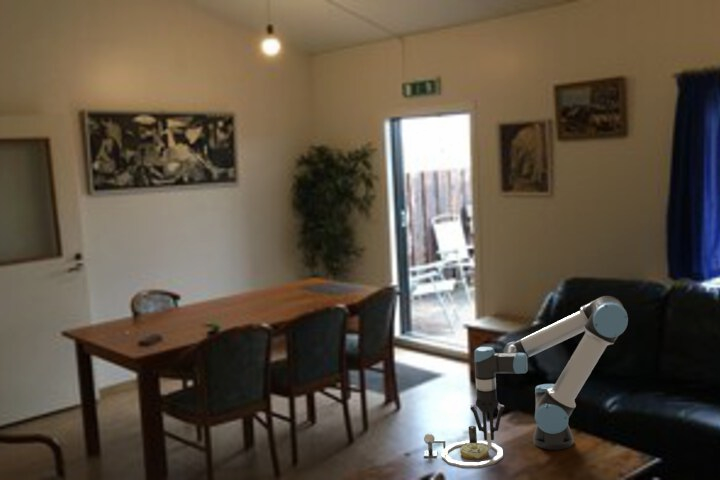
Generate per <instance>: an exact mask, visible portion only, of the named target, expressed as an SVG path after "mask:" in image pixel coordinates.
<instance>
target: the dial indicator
mask: <svg viewBox="0 0 720 480" xmlns="http://www.w3.org/2000/svg"><path fill="white" fill-rule="evenodd" d="M423 441H424V443H425V444H427V446H428V447H427V450H424V453H423V458H424V459H425V458H426V459H428V458H431V459H432V458H435V459H436V458H438V453H439V451H438V450H437V449H436V450H435V449H433V444H442V446H443V449H446V447H447V446H446V439H435V436H434V435H433V434H432V433H427V434H425V435H424V437H423Z"/></svg>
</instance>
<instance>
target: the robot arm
mask: <svg viewBox="0 0 720 480" xmlns="http://www.w3.org/2000/svg"><path fill="white" fill-rule="evenodd" d="M628 322H629V317H628V313H627V310H626V309H625V308H624V305H623V303H622V302H621V301H620V300H619V298H616V297H614V296H611V295H603V296H599V297H598V298H596V299H595V300H591V301H590V302H588V303H586V304H584V305H582V306H581V307H580V309H579V310H578V311H576V312H575V313H574V312H573V313H572V314H571V315H568V316H566V317H564V318H562V319H560V320H557V321H556V322H554V323H552V324H549V325H547V326H545V327H543V328H541V329H539V330H537V331H535V332H533V333H531V334H529V335H527V336H525V337H523V338H521V339H519V340H516V341H510V342H508V343H507V344H506V345H505V346H504V348H503V350H502V351H503V352H496V351H495V349H494V348H493V347H491V346H480V347H476V348H475V350H474V357H473V358H474V360H473V361H474V362H473V363H474V372H475V373H474V374H475V377H474V378H475V388H476V391H475V392H476V401H475V403H474V404H471V405H470V410H471V412H472V413H473V416H474V420H475V423H476V427H477V429H478V431H479V432H483V441H486V442H487V448H488V450H492V446H491V443H492V441H494V440H495V434H494V433H495V432H498V431H499V427H500V423H501V417H502V413H503V412H504V410H505V405H504V404H500V402H499V400H498V395H497V382H496V381H497V379H496V377H497V376H496V374H517V375H519V374H526V373H527V372H528V359H529V358H530V357H532V356H535V355H537V354H539V353H541V352H543V351H545V350H547V349H550V348H551V347H554V346H556V345H558V344H560V343H563V342H564V341H567V340H568V339H571V338H573V337H576V336H577V335H579V334H581V333H583V332H584V335H583V336H582V338H581V340H580V341H579V343H578V345H577V346H576V348H575V350H574V351H573V353H572V355H571V356H570V359H569V360H568V362H567V364H566V366H564V369H563V370H562V371H561V374H560V375H559V376H558V379H557V380H556V381H555V383H543V384H538V385H536V386H535V388H534V389H535V390H534V391H535V392H534V394H535V411H534V420H535V423H536V427H535V430H534V433H533V438H532V439H533V443H534V446H536V447H538V448H541V449H545V450H550V451H553V450H554V451H557V450H558V451H559V450H564V449H568V448H570V447H572V446H573V445H574V443H575V442H574V436H573V433H572V431H571V428H570V426H569V420H570V419H569V418H570V417H571V415H572V414H573V411H574V409H575V408H576V406H577V404H576V402H575V401H576V400H575V399H576V398H577V397H578V394H580V391H581V390H582V388H583V386H584V385H585V383H586V381H587V380H588V378H589V377H590V375H591V374H592V371H593V370H594V368H595V366H596V365H597V363H598V362H599V359H600V358H601V356H602V355H603V353H604V352H605V350H606V349H607V347H608V346H610V345H614V343H615V342H616V340H617V339H618V337H619V336H620V335H622V334H623V333H624V332H625V331H626V329H627V327H628ZM496 409H497V417H496V421H495V425H494V415H493V413H494V411H495V410H496ZM478 410H479V411H480V412H482V413H481V414H482V422H481V419H480V417H479V413H478ZM487 413H488V414H489V415H488V416H489V429H488V428H487V427H488V425H487Z"/></svg>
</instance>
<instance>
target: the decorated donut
mask: <svg viewBox="0 0 720 480" xmlns="http://www.w3.org/2000/svg"><path fill="white" fill-rule="evenodd" d="M459 448H460V450H459V452H460V454H461V456H462V457H463V458H464V459H467V460H470V461H471V460H472V461H473V460H474V461H475V460H477V461H478V460H483V459H487V458H488V457H489V453H490V452H489V450H488V447H486V446H485V445H483V444H479V443H469V444H465V445H463V446H461V447H459Z"/></svg>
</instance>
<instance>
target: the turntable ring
mask: <svg viewBox="0 0 720 480" xmlns="http://www.w3.org/2000/svg"><path fill="white" fill-rule="evenodd" d="M468 438H469V439H468V440H463V441H459V442H455V443H451V444H449V445H448V446H445V447H446V449H444V448H443V449H442V452H441V459H442V460H443V461H445V462H446V463H447V464H448V465H451V466H456V467H458V468H459V467H460V468H483V467H486V466H490V465H491V466H492V465H495V464H496V463H499V462H500V461H501V460H502V459H503V458H504V451H503V450H504V449H503V448H502V447H501V446H499V445H497V444H496V443H494V442H491V446H492V448H491V450H494V451H495V452H496V455H495V456H493V457H492V458H491V459H488V460H483V461H480V462H464V461H460V460H455V459H453V458H452V457H450V456H449V453H450V452H451V451H452V450H454V449H456V448H461V447H462V446H463V445H465V444H469V443H479V444H483V445H485V446H486V447H487V441H486V440H478V436H477V425H476V426H475V425H469V426H468ZM487 448H488V447H487Z"/></svg>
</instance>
